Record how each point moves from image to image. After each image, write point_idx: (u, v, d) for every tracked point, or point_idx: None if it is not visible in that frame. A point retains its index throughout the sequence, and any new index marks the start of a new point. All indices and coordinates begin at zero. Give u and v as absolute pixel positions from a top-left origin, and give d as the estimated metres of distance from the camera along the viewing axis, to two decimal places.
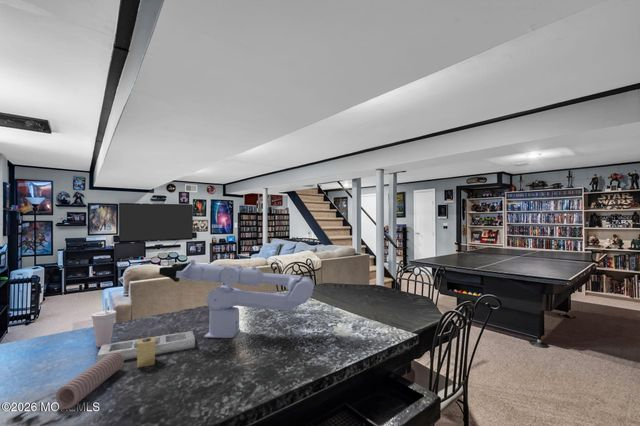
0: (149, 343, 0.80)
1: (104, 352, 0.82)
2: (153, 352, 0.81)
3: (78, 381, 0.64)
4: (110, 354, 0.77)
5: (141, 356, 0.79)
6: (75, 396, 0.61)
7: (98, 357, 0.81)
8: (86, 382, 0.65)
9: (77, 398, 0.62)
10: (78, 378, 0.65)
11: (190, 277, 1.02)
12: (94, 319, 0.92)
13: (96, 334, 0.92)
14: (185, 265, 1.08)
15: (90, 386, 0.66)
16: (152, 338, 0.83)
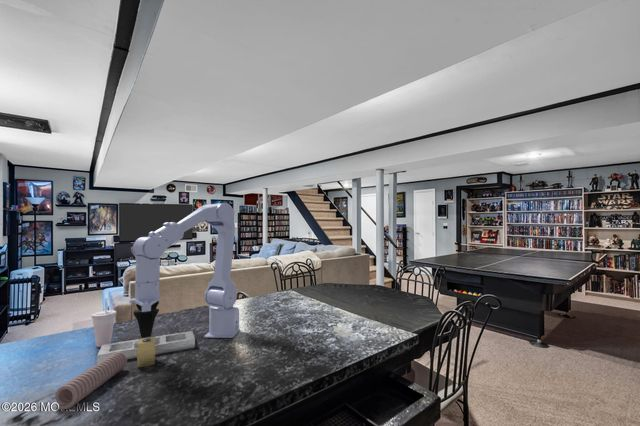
0: (149, 343, 0.80)
1: (104, 352, 0.82)
2: (153, 352, 0.81)
3: (77, 381, 0.64)
4: (113, 354, 0.77)
5: (141, 356, 0.79)
6: (73, 396, 0.61)
7: (98, 357, 0.81)
8: (85, 382, 0.65)
9: (75, 398, 0.61)
10: (78, 378, 0.65)
11: (153, 296, 0.81)
12: (94, 319, 0.92)
13: (96, 334, 0.92)
14: None
15: (90, 386, 0.65)
16: (152, 338, 0.83)
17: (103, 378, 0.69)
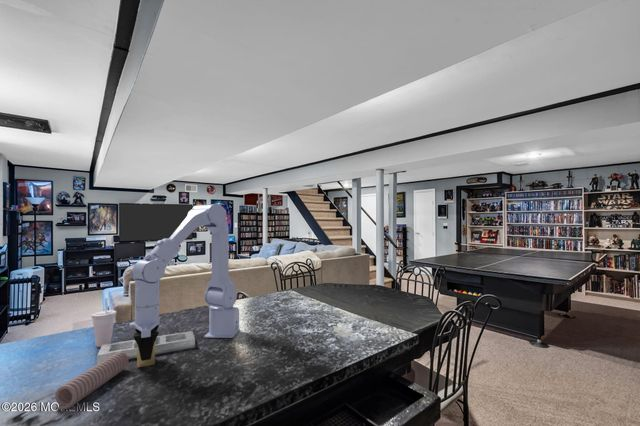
0: None
1: (104, 352, 0.82)
2: (153, 352, 0.81)
3: (77, 381, 0.64)
4: (115, 354, 0.77)
5: None
6: (72, 397, 0.61)
7: (98, 357, 0.81)
8: (85, 382, 0.65)
9: (74, 399, 0.61)
10: (78, 378, 0.65)
11: (153, 320, 0.81)
12: (94, 319, 0.92)
13: (96, 334, 0.92)
14: None
15: (90, 386, 0.65)
16: None
17: (104, 378, 0.69)
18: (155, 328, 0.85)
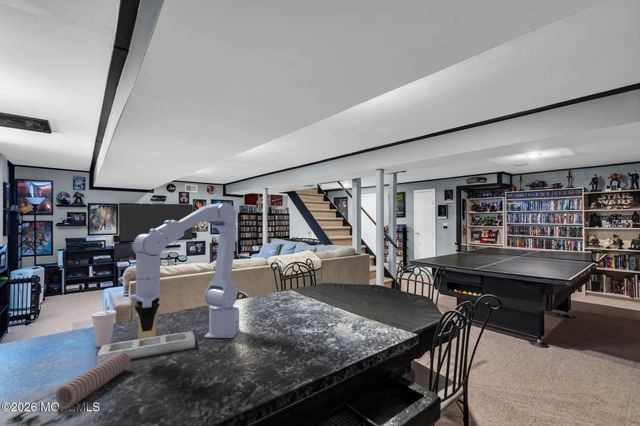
0: None
1: (104, 352, 0.82)
2: (154, 324, 0.82)
3: (77, 381, 0.64)
4: (117, 354, 0.77)
5: None
6: (72, 397, 0.61)
7: (98, 357, 0.81)
8: (86, 382, 0.65)
9: (74, 399, 0.61)
10: (78, 378, 0.65)
11: (154, 292, 0.82)
12: (94, 319, 0.92)
13: (96, 334, 0.92)
14: None
15: (90, 387, 0.65)
16: None
17: (104, 378, 0.69)
18: (156, 301, 0.86)
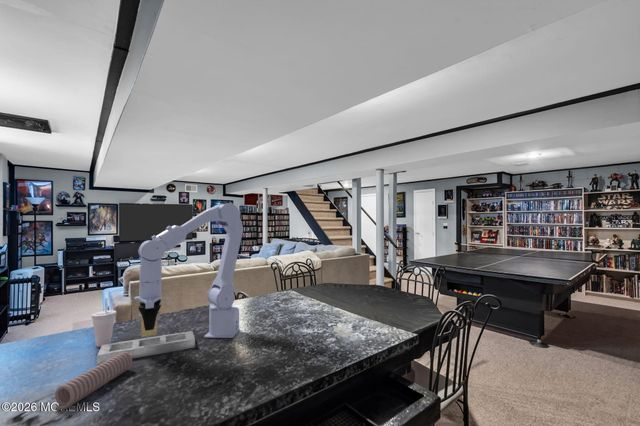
0: None
1: (104, 352, 0.82)
2: (155, 323, 0.89)
3: (76, 381, 0.64)
4: (119, 354, 0.77)
5: (144, 327, 0.88)
6: (70, 397, 0.61)
7: (98, 357, 0.81)
8: (85, 383, 0.65)
9: (72, 399, 0.61)
10: (78, 378, 0.65)
11: (156, 294, 0.89)
12: (94, 319, 0.92)
13: (96, 334, 0.92)
14: None
15: (89, 387, 0.65)
16: None
17: (105, 379, 0.69)
18: (158, 303, 0.93)
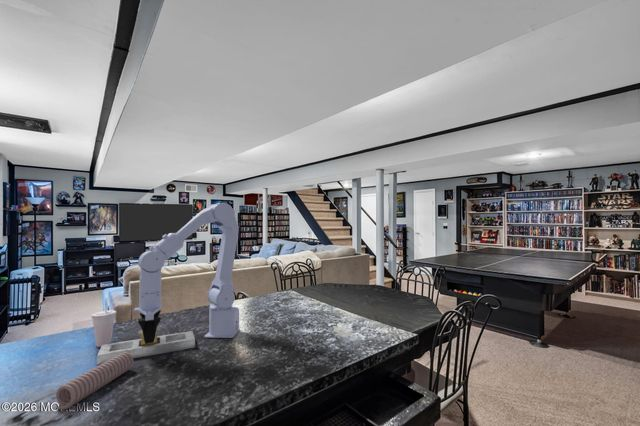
0: None
1: (104, 352, 0.82)
2: (155, 340, 0.89)
3: (77, 381, 0.64)
4: (120, 354, 0.77)
5: (144, 344, 0.88)
6: (71, 397, 0.61)
7: (98, 357, 0.81)
8: (86, 383, 0.65)
9: (73, 399, 0.61)
10: (79, 378, 0.65)
11: (156, 306, 0.89)
12: (94, 319, 0.92)
13: (96, 334, 0.92)
14: None
15: (90, 387, 0.65)
16: None
17: (106, 379, 0.69)
18: (157, 312, 0.94)
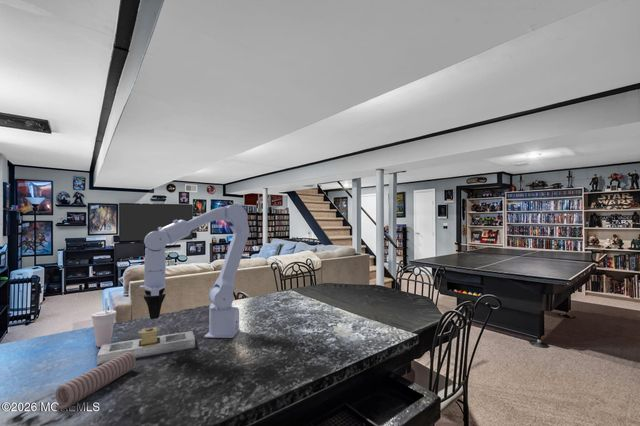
0: (152, 332, 0.88)
1: (104, 352, 0.82)
2: (155, 340, 0.89)
3: (76, 381, 0.64)
4: (123, 354, 0.77)
5: (144, 344, 0.88)
6: (69, 397, 0.61)
7: (98, 357, 0.81)
8: (85, 383, 0.64)
9: (71, 399, 0.61)
10: (78, 378, 0.65)
11: (160, 283, 0.92)
12: (94, 319, 0.92)
13: (96, 334, 0.92)
14: None
15: (89, 387, 0.65)
16: (154, 328, 0.91)
17: (106, 379, 0.69)
18: (162, 291, 0.98)
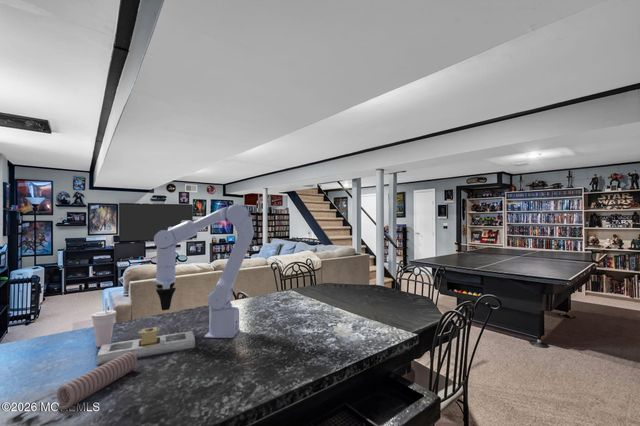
0: (152, 332, 0.88)
1: (104, 352, 0.82)
2: (155, 340, 0.89)
3: (78, 381, 0.64)
4: (124, 354, 0.77)
5: (144, 344, 0.88)
6: (70, 397, 0.61)
7: (98, 357, 0.81)
8: (86, 383, 0.64)
9: (72, 399, 0.61)
10: (80, 378, 0.65)
11: (171, 278, 1.01)
12: (94, 319, 0.92)
13: (96, 334, 0.92)
14: None
15: (90, 387, 0.65)
16: (154, 328, 0.91)
17: (107, 379, 0.69)
18: (172, 285, 1.07)
